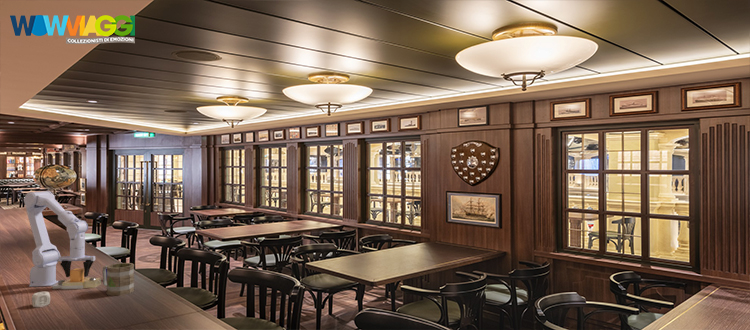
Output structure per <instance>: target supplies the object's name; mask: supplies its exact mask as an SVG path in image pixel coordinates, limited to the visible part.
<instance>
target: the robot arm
mask: <svg viewBox="0 0 750 330" xmlns="http://www.w3.org/2000/svg"><path fill="white" fill-rule="evenodd" d="M23 203H24V206H25V209H26V215H27V218H28V222H29V226H30V229H31V232H32V236H33V240H34V244H35V248H34V249H33V250H32V252H31V254H32V264H33V266H32V267H31V268H30V271H29V285H28V287H30V288H31V287H52V286H53V285H55V284H57V283H58V281H59V280H57V274H56V273H57V265H58V262H61V263H60V266H61V267H62V270H63V271H64V274H65V278H70V271H71V267H72V262H82V265H83V268H84V278H88V277H89V273H90V270H91V267H92V265H93V264H94V261H96V256H95V255H86V248H85V247H86V232H87V231H88V230H89V225H88V223H87V222H86V220H82V219H79V218H78V217H77V216H76V215H75V214H73V211H71V210H66V209H64V207H63V206H62V205H61V204H60V203H59V202H58V201H57V200H56V197H55V194H53V193H52V192H51V191H50V190H46V191H29V192H27V193H26V194H25V196H24V198H23ZM47 208H48V209H49V210H51V211H52V212H53V213H54V214H55V215H57V220H58V221H59V222H60V223H62V224H63V226H65V227H66V232H67V233H68V238H69V256H68V255H67V256H61V253H60V251H59V250H58V248H57V246H56V245H54V244H52V243H51V241H50V237H49V234H48V230H47V226H46V223H45V219H44V216H43V211H44V210H45V209H47Z"/></svg>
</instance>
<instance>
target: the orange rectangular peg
mask: <svg viewBox="0 0 750 330" xmlns="http://www.w3.org/2000/svg"><path fill="white" fill-rule="evenodd" d="M84 278H85V277H84V267H82V268H74V269H70V276H69V279H70V282H80V281H83V280H84Z"/></svg>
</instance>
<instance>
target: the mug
mask: <svg viewBox="0 0 750 330" xmlns="http://www.w3.org/2000/svg"><path fill="white" fill-rule="evenodd" d="M106 269H107V281H106ZM134 271H135V264H134V263H132V262H120V263H113V264H110V265H105V266H103V267H102V284H103V286H105V287H106V295H107V296H111V297H113V296H114V297H119V296H125V295H129V294H132V293H133V292H135V283H134V282H135V272H134ZM131 292H132V293H131Z"/></svg>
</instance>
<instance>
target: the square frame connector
mask: <svg viewBox="0 0 750 330" xmlns="http://www.w3.org/2000/svg"><path fill="white" fill-rule="evenodd" d="M57 281H58V283H56V284H54V285H52V286H51V289H52V290H83V289H94V288H95V289H96V288H97V287H99V286H100V285H102V277H89V276H88V277H84V280H83V281H80V282H70V278H69V279H67V280H65V279H59V280H57Z"/></svg>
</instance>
